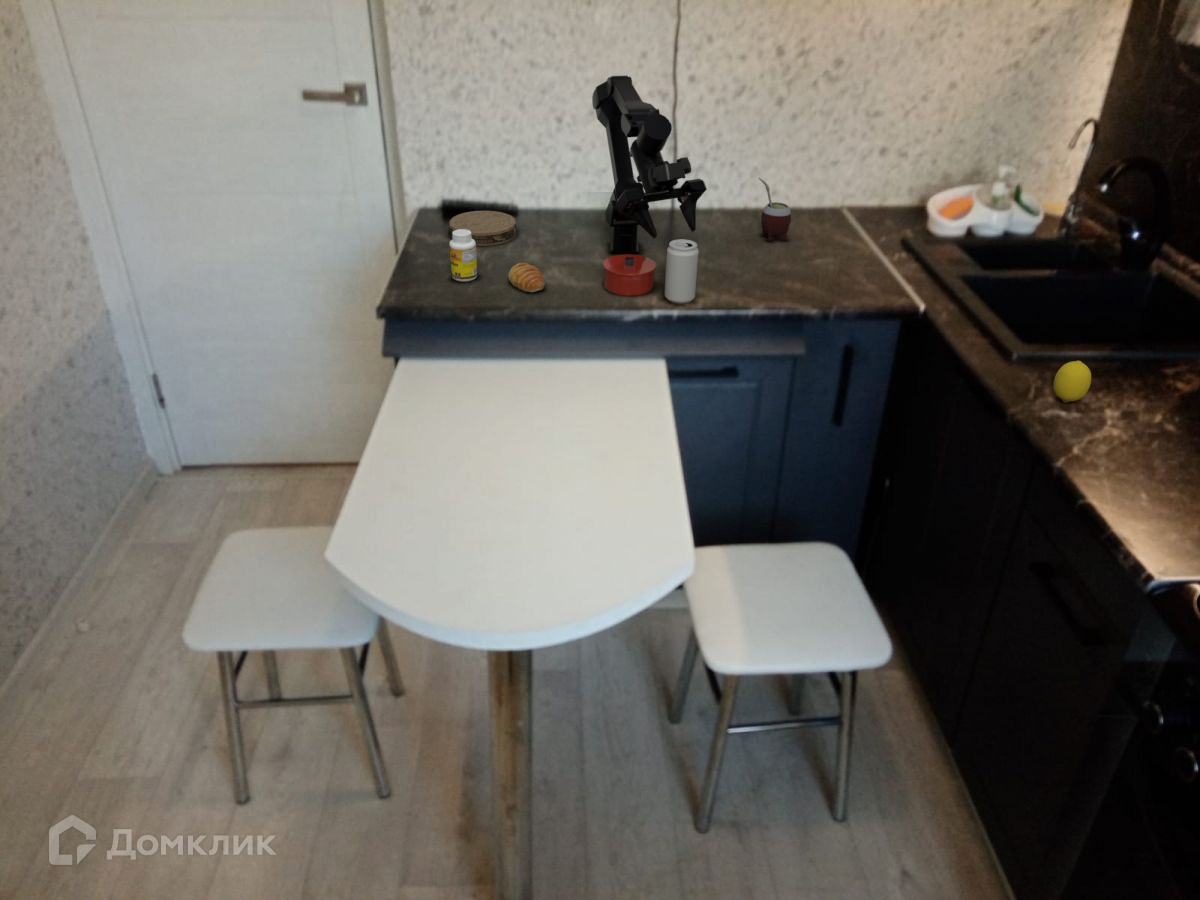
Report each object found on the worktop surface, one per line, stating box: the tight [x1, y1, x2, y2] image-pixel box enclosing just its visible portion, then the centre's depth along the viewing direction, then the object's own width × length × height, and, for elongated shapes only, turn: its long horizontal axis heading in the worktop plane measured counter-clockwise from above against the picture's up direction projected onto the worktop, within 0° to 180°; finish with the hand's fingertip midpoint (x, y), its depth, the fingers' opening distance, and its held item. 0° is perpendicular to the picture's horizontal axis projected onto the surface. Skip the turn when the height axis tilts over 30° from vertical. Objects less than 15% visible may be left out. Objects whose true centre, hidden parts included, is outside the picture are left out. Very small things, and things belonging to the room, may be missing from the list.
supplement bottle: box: [448, 229, 478, 283], centre depth 195 cm, size 6×6×10 cm
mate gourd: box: [758, 177, 792, 243], centre depth 217 cm, size 8×8×15 cm
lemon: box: [1052, 360, 1092, 403], centre depth 155 cm, size 6×6×8 cm
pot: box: [603, 267, 655, 296], centre depth 194 cm, size 10×10×4 cm
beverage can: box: [664, 239, 700, 305], centre depth 187 cm, size 6×6×12 cm
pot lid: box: [602, 253, 657, 276], centre depth 193 cm, size 11×11×2 cm
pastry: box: [507, 262, 546, 293], centre depth 193 cm, size 9×7×4 cm
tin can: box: [449, 210, 517, 247], centre depth 219 cm, size 16×16×3 cm
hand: (674, 233), depth 186 cm, fingers open, 9 cm apart
